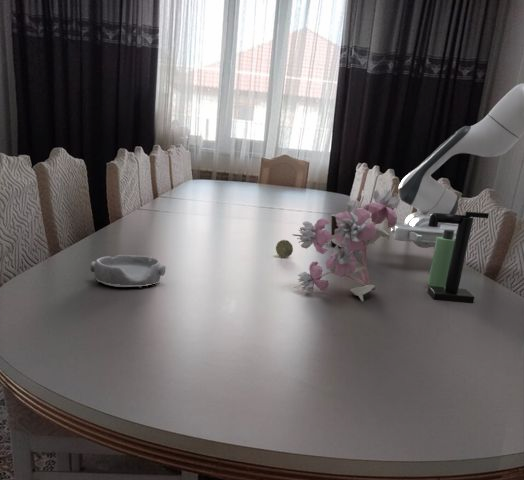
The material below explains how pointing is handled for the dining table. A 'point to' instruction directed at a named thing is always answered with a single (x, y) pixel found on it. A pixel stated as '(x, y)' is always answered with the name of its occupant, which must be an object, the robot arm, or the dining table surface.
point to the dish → (128, 270)
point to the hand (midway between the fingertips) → (436, 240)
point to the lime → (284, 248)
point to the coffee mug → (333, 227)
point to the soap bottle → (441, 259)
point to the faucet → (455, 256)
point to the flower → (348, 241)
